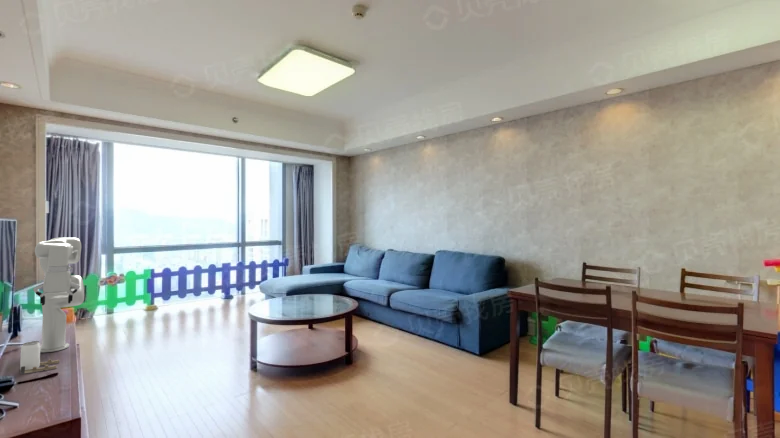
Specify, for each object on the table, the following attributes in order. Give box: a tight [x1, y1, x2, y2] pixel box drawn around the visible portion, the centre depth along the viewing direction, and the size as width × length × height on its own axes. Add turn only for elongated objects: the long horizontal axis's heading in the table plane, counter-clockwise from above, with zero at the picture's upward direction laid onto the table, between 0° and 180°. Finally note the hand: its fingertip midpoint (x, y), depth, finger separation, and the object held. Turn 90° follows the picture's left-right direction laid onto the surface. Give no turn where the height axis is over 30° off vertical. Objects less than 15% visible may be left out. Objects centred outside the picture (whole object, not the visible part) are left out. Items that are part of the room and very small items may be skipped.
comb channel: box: [20, 358, 60, 375], centre depth 172 cm, size 9×12×3 cm
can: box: [19, 340, 41, 371], centre depth 170 cm, size 6×6×12 cm
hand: (56, 303), depth 181 cm, fingers open, 9 cm apart
